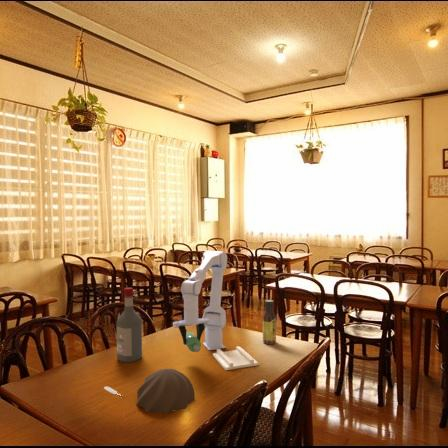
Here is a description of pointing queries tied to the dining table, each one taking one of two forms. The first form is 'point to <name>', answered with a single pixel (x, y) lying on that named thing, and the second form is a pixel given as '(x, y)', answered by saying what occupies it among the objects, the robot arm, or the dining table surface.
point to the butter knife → (111, 390)
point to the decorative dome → (165, 391)
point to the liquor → (129, 331)
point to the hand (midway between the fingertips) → (191, 343)
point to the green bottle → (192, 342)
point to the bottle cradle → (234, 359)
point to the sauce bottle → (269, 323)
